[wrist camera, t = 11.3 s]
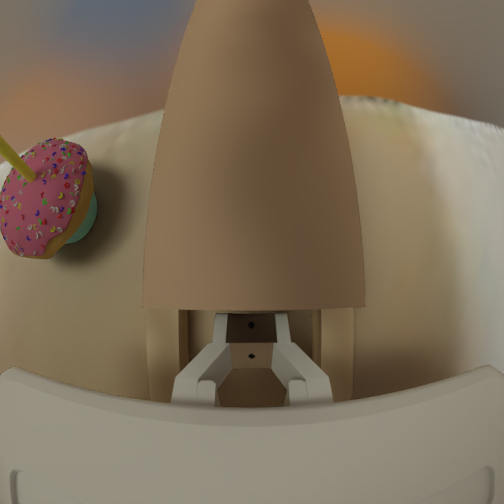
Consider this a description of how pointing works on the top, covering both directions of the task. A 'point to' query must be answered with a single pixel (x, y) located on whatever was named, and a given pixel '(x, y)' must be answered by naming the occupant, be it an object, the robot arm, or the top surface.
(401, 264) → the top surface
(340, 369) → the chute
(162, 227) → the block
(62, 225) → the cupcake
